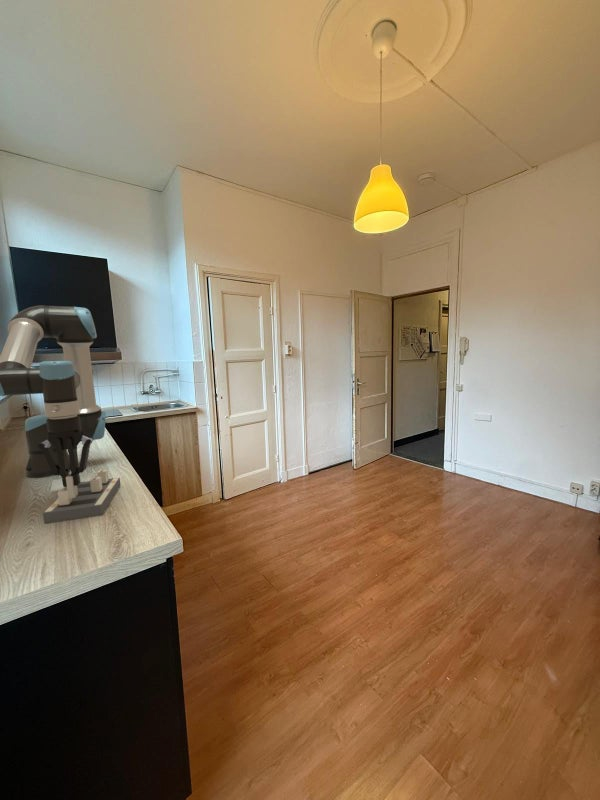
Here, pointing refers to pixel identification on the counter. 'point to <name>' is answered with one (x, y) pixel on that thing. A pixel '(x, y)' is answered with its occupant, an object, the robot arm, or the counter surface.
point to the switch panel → (83, 502)
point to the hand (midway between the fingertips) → (73, 496)
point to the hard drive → (57, 485)
